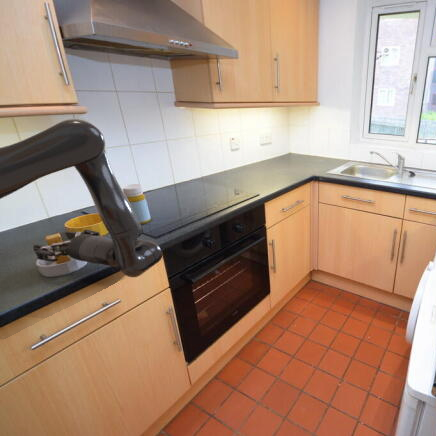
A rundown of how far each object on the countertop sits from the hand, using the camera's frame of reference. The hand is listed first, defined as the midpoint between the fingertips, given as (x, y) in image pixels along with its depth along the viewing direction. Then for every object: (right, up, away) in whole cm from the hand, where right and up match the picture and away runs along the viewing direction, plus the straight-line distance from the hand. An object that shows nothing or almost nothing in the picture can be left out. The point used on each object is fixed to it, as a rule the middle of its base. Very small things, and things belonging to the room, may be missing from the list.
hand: (52, 241), depth 87 cm
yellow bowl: (-8, +1, +24) cm, 25 cm away
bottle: (+6, +5, +33) cm, 34 cm away
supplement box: (+1, -8, +3) cm, 8 cm away
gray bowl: (+1, -8, +3) cm, 9 cm away
